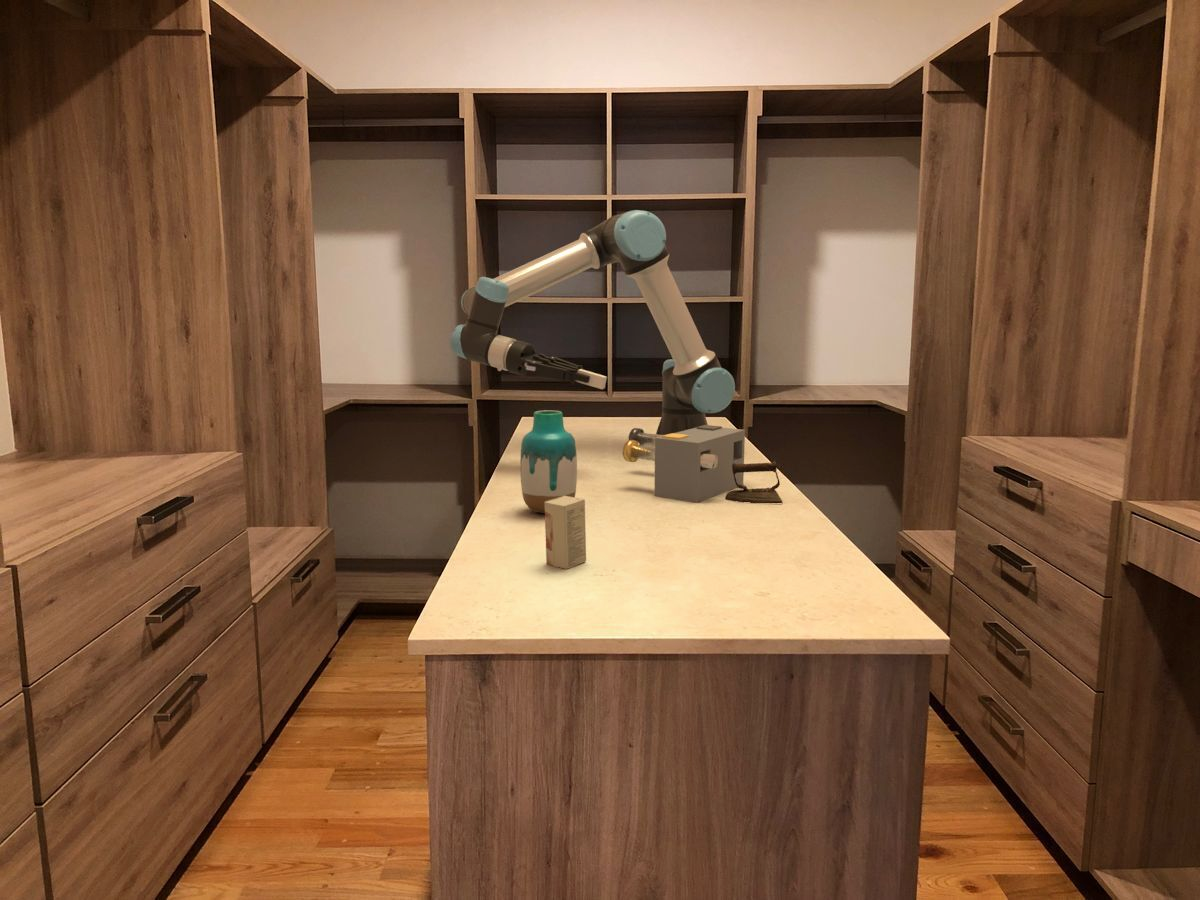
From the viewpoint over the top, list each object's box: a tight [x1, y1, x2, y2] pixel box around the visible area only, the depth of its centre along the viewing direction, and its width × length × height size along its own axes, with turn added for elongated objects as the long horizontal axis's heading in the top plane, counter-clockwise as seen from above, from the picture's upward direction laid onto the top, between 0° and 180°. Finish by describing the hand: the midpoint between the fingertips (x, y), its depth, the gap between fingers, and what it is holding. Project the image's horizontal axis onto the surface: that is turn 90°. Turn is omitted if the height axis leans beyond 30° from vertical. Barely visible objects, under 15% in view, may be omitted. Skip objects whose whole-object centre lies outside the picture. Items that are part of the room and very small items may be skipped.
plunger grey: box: [628, 427, 663, 447], centre depth 197 cm, size 5×20×5 cm, turn 54°
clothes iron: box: [724, 460, 783, 504], centre depth 177 cm, size 7×11×10 cm, turn 88°
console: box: [653, 424, 746, 504], centre depth 185 cm, size 20×10×12 cm, turn 144°
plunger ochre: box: [622, 439, 718, 469], centre depth 181 cm, size 5×20×5 cm, turn 54°
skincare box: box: [544, 496, 587, 570], centre depth 136 cm, size 5×4×10 cm
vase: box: [519, 409, 578, 514], centre depth 166 cm, size 11×11×19 cm
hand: (604, 382), depth 195 cm, fingers closed
